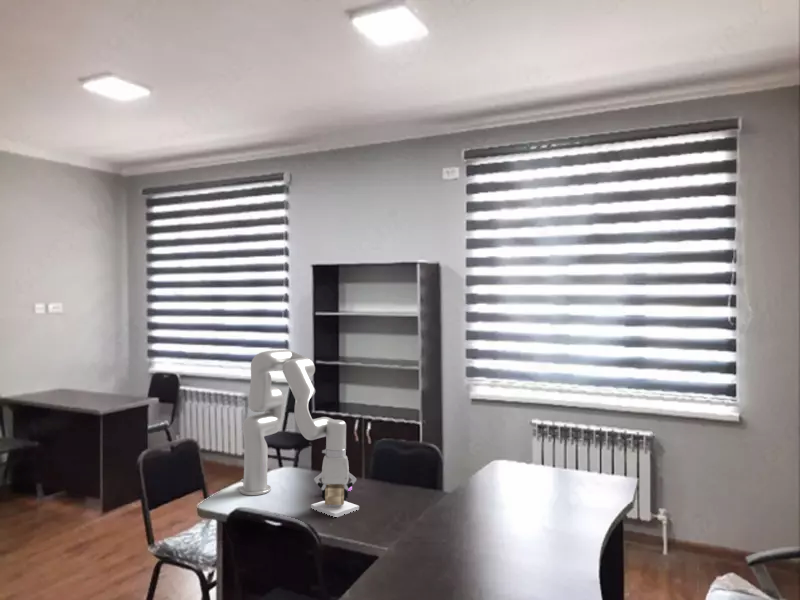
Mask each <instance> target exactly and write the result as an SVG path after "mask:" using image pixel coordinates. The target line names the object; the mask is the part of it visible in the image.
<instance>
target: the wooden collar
mask: <svg viewBox="0 0 800 600" xmlns="http://www.w3.org/2000/svg"><path fill="white" fill-rule="evenodd" d="M344 489H345V487H344V485H343V484H327V485H326V488H325V505H344Z"/></svg>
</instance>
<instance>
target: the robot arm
mask: <svg viewBox="0 0 800 600" xmlns="http://www.w3.org/2000/svg"><path fill="white" fill-rule="evenodd" d="M278 371H279V372H280V371H282V374H283V375H284V378H285V380H286V382H287V384H288V386H289V388H290V390H291V392H292V395H293V398H294V399H295V402H294V420H295V423H296V425H297V428H298V430H299V431H300V434H301V435H302V437H304V439H306V440H307V441H314V440H317V439H321V438H326V439H325V440H326V441H325V444H326V445H325V449H322V450H321V453H322V454H324V457H323V460H322V466H321V473H320V472H319V474H318V475H317V476H315V477H314V478H313V481H314V482H315V484H317V486H318V487H319V488H320V490H321V498H322V499H323V501H325V488H326V485H327V484H343V485H344V487H345V489H344V501H347V499H348V498H349V492H348V489H349V488H350V487H351V486H352V487H353V485H354V484H355V483H356V482H357V478H356V477H355V476H354V475H353V474H352V473H350V471H349V470H350V469H349V468H350V467H349V460H348V459H349V458H348V456H347V455H346V452H347V451H346V450H347V423H346V422H345V420H342V419H335V418H334V419H333V418H331V417H327V416H321V417H317V418H312V416H311V413H310V410H309V402H310V399H311V398H312V397H313V396H315V393H316V389H315V387H314V385H313V383H312V380H311V377H313V375H314V374H315V373H316V366H315V363H314V362H313V360H311V359H310V358H309V357H307V356H304V355H303V354H300V353H298V352H295V351H293V350H289V349H279V350H266V351H261V352H259V353H257V354H256V355H254V357H253V358H252V359H251V363H250V382H249V383H250V385H249V394H248V408H249V410H250V411H251V412H254V413H257V414H253V415H250V416H248V417H246V418H245V419H244V421H243V423H242V429H241V430H242V435H243V444H244V445H243V446H244V448H243V449H244V450H243V451H244V453H243V456H244V457H243V459H244V460H243V463H244V464H243V478H241V479H240V482H241V483H242V486H241V487H239V493H241V494H242V495H244V496H261V495H265V494H267V493H269V492H271V490H272V488H271V485H269V484H268V461H269V460H268V459H269V457H268V454H269V449H268V448H269V447H268V443H267V441H266V438H265V437H266V436H270V435H273V434H274V435H275V434H276V433H278V432H279V431H280V429H281V427H282V422H283V412H284V402H285V399H284V394H283V392H282V391H281V389H279V388H278V387H276V386H272V382H273V381H272V376H271V373H270V372H278ZM262 412H263V413H262ZM320 479H321V481H320ZM350 479H351V480H350ZM349 480H350V481H349Z"/></svg>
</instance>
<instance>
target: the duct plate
mask: <svg viewBox="0 0 800 600" xmlns="http://www.w3.org/2000/svg"><path fill="white" fill-rule="evenodd" d="M311 508H312V509H311ZM310 509H311V510H313V509H314V510H313V511H316V510H317V511H316V512H319V513H321V512H322V513H321V514H324V513H325V514H324V515H326V514H327V515H326V516H329V515H330V517H331V516H333V517H332V518H334V517H337V518H339V517H342V516H345V515H348V514H350V512H351V513H354V512H357V511H359V510H360V505H358V504H354V503H352V502H348V501H347V500H346V501H344V505H325V501H324V500H322V501H319V502H315V503H312V504H310ZM356 510H357V511H356ZM353 511H354V512H353ZM344 514H345V515H344Z"/></svg>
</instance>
